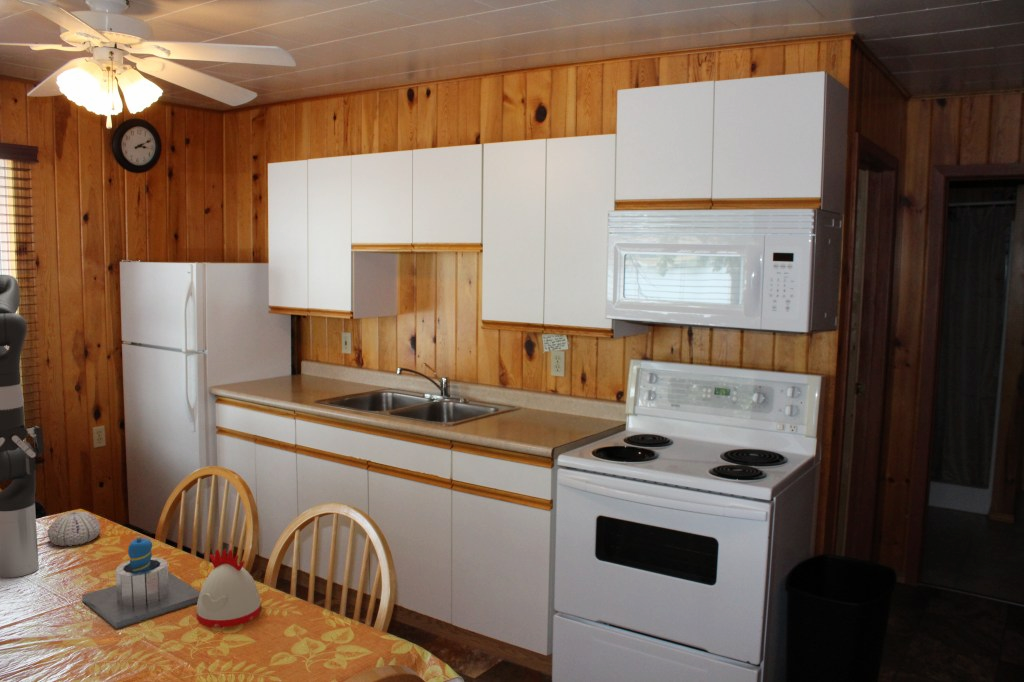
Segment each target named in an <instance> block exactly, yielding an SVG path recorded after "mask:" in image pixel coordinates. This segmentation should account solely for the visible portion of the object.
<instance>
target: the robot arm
mask: <svg viewBox="0 0 1024 682" xmlns="http://www.w3.org/2000/svg"><path fill="white" fill-rule="evenodd" d="M20 300H21V295H20V286H19V283H18V280H17V279H16V278H15V277H14V276H12V275H9V274H0V483H4V482H9V481H11V483H10V484H9V485H8V486H7V487H6V488H4V489H3V490H1V491H0V578H5V579H6V578H9V579H10V578H18V577H22V576H26V575H29V574H32V573H35V572H36V571H37V570H38V569H39V568H40V565H39V549H38V548H39V547H38V533H37V532H38V531H37V518H36V517H37V516H36V502H35V497H36V496H35V495H36V487H37V486H36V470H37V465H36V457H37V456H38V455H40V454H44V453H45V445H44V438H43V430H42V428H41V427H40V426H37V425H33V426H32V427H30V428H27V427H26V425H25V424H26V423H25V407H24V403H25V399H24V395H23V394H24V393H23V387H22V382H21V356H22V350H23V347H24V343H25V341H26V336H27V333H28V331H27V330H28V325H27V321H26V319H25V318H24V317H23V316H22V315H21V314H19V313H17V311H18V309H19V308H20V303H21V301H20ZM6 346H7V347H8V349H7V348H6ZM28 434H29V437H32V438H33V444H34V448H33V447H32V445H31V444H30V443H29V442H28V441H25V439H26V438H27V436H28Z"/></svg>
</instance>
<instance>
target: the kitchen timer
mask: <svg viewBox="0 0 1024 682" xmlns="http://www.w3.org/2000/svg"><path fill="white" fill-rule="evenodd" d="M227 552H228V554H227ZM209 558H210V562H211V563H212V565H213V567H214V569H212V571H211V572H210V573H209V574H208V575H207V576H206V579H205V580H204V582H203V584H202V585H201V589H200V591H199V592H200V595H199V598H198V602H197V603H196V620H197V621H198V623H199V624H202V625H203V626H205V625H206V627H211V628H227V627H228V628H229V627H234V626H239V625H242V624H244V623H248V622H250V621H252V620H253V619H255V618H256V617H258V616H259V615H260V613H261V611H262V603H261V602H262V601H261V597H260V593H259V590H258V587H257V584H256V582H255V580H254V577H253V576H252V575H251V574H250V573H249V571H248V570H246V569H245V568H244V567H243V566H244V564H245V560H243V561H241V562H240V564H238V560H239V554H237V555H236V556H234V554H233V551H232V549H230V550H229V551H227V549H226V548H224V549H223V550H222V553H220V550H219V548H218V549H216V550H214V555H213V553H211V554H209Z"/></svg>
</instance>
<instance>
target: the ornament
mask: <svg viewBox="0 0 1024 682" xmlns="http://www.w3.org/2000/svg"><path fill="white" fill-rule="evenodd" d="M152 542H153V541H151V540H150V539H149V538H146V537H145V538H142V537H141V535H140V533H139V534H138V535H137V536H136V539H134V540H132V541H130V543H129V546H128V548H127V549H128V550H127V554H128V557H129V561H130V565H131V567H132V568H133V573H142V572H147V571H149V570H150V566H151V564H150V560H151V558H152V557H153V552H152V549H153V543H152Z"/></svg>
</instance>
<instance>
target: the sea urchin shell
mask: <svg viewBox="0 0 1024 682" xmlns="http://www.w3.org/2000/svg"><path fill="white" fill-rule="evenodd" d="M49 526H50V527H49V528H48V529H47V538H48V540H49V541H50V542H51V543H52V544H53V545H55V546H58V545H59V546H61V547H67V545H68V547H72V545H75V546H80V545H83V544H84V543H85V542H86V543H89V542H91V541H92V540H95V538H96V539H97V537H98V536H99V534H100V533H101V528H102V526H101V524H100V521H99V520H98V519H97V518H96V517H95V516H94V515H93V514H90V513H89V512H87V511H71V512H70V511H69V512H67V513H65V514H62V515H61V516H59V517H58V518H56V519H55V520H54V521H53V522H52V523H51V524H50V525H49ZM79 544H80V545H79Z"/></svg>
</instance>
